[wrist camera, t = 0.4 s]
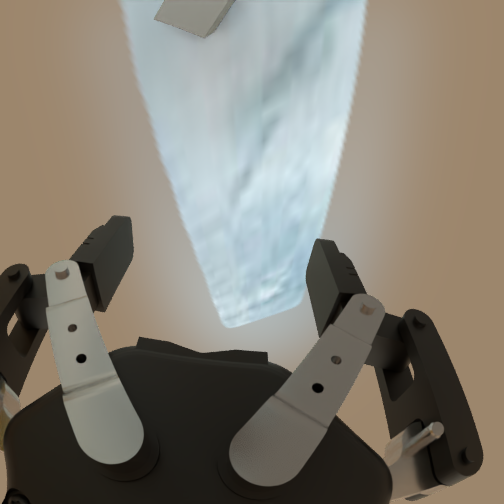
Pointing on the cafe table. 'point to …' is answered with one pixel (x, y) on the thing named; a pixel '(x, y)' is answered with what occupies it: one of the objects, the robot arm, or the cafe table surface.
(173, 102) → the cafe table surface
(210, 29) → the slate block
